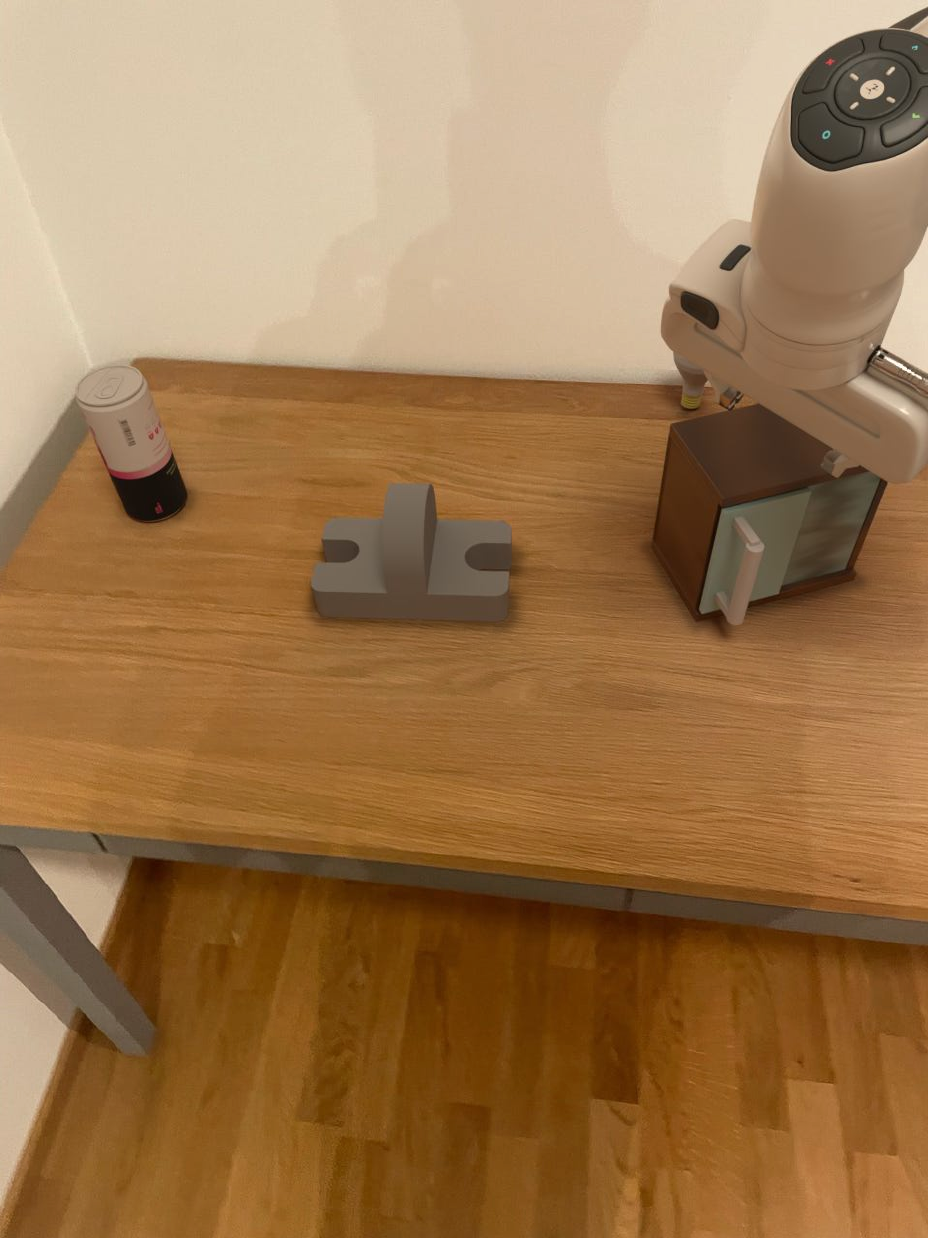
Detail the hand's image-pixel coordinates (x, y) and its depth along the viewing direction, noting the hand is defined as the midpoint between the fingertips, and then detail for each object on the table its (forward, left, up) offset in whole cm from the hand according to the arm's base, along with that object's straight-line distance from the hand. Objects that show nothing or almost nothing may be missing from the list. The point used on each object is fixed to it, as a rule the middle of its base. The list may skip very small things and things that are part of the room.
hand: (780, 432), depth 69 cm
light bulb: (-21, -21, -20) cm, 36 cm away
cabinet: (-6, -2, -20) cm, 21 cm away
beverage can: (+30, -51, -20) cm, 63 cm away
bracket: (+18, -23, -20) cm, 36 cm away
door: (+1, +2, -19) cm, 19 cm away
